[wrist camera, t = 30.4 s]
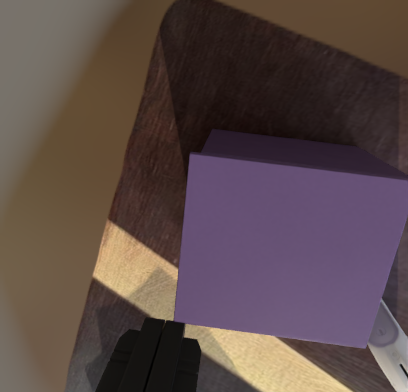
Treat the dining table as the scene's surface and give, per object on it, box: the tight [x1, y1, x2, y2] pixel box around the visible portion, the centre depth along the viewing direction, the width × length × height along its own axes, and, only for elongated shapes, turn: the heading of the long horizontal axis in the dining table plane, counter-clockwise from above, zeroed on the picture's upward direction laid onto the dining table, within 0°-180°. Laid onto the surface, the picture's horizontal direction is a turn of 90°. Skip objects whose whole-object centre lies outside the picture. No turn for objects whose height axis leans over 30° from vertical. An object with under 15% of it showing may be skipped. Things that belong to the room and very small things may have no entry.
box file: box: [201, 129, 408, 178], centre depth 39 cm, size 18×17×14 cm
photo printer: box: [368, 298, 408, 392], centre depth 44 cm, size 10×4×12 cm, turn 34°
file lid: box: [174, 152, 408, 348], centre depth 32 cm, size 18×17×1 cm
